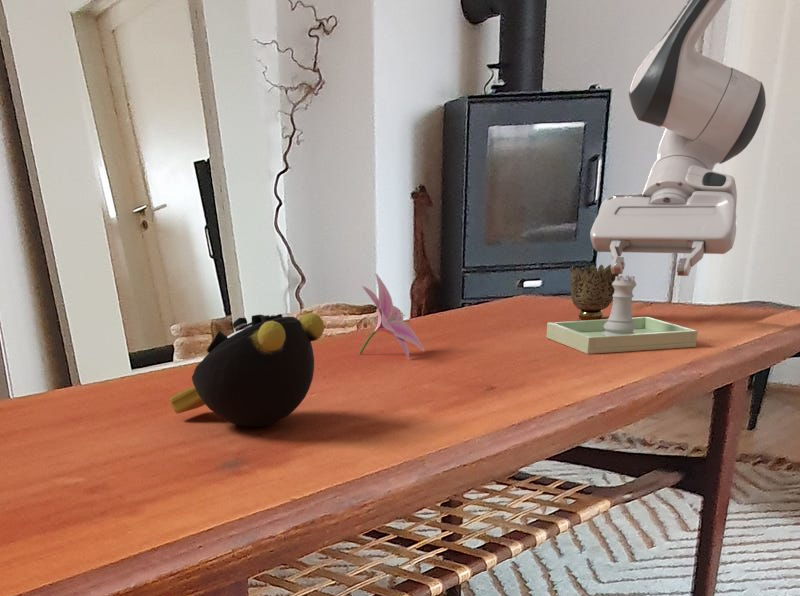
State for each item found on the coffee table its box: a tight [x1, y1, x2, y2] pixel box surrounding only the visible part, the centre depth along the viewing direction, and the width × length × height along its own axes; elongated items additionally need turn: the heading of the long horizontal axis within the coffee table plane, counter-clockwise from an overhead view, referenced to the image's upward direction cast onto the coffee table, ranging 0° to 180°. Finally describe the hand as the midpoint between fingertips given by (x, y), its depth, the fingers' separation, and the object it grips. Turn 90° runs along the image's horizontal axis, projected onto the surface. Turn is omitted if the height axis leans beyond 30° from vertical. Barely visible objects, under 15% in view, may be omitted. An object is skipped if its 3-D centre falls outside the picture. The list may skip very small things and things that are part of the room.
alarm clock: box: [169, 312, 325, 428], centre depth 96 cm, size 12×15×15 cm
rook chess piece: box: [602, 275, 637, 336], centre depth 133 cm, size 4×4×8 cm
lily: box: [359, 273, 425, 360], centre depth 129 cm, size 12×12×10 cm
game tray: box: [545, 316, 699, 355], centre depth 134 cm, size 16×14×2 cm
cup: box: [569, 263, 620, 321], centre depth 151 cm, size 8×7×8 cm
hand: (648, 272), depth 140 cm, fingers open, 8 cm apart
